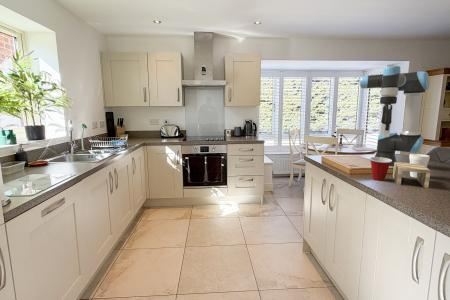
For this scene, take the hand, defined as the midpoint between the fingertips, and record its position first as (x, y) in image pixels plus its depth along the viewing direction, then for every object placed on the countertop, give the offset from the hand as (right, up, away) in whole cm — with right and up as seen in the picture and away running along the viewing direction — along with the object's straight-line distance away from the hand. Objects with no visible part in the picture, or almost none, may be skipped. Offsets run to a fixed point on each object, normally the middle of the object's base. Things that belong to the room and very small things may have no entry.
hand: (384, 135), depth 135 cm
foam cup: (+27, -24, +12) cm, 38 cm away
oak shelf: (+14, -25, 0) cm, 29 cm away
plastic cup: (-1, -25, +4) cm, 25 cm away
